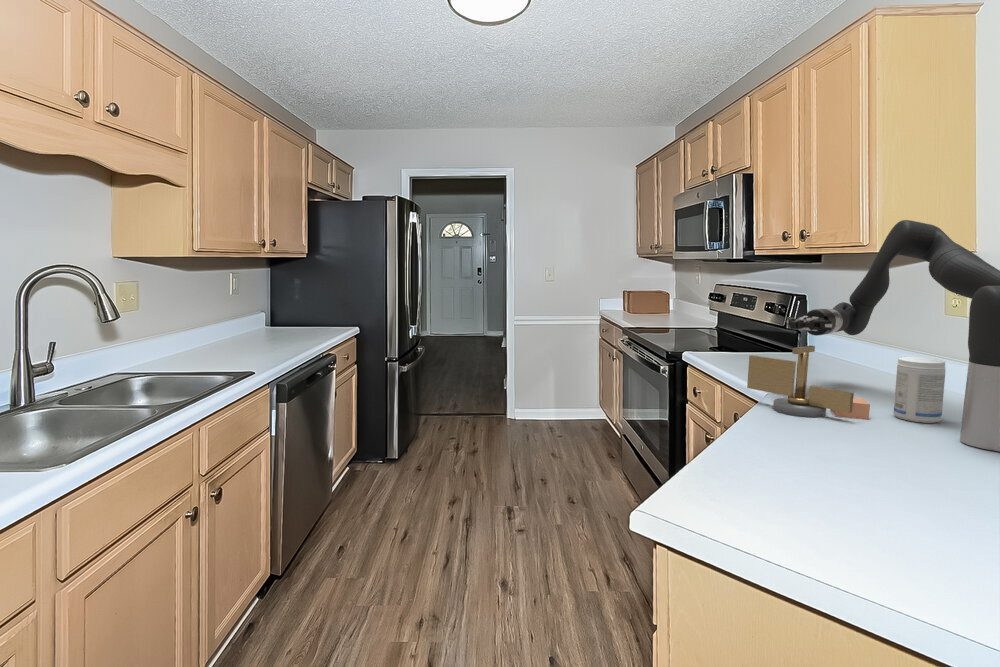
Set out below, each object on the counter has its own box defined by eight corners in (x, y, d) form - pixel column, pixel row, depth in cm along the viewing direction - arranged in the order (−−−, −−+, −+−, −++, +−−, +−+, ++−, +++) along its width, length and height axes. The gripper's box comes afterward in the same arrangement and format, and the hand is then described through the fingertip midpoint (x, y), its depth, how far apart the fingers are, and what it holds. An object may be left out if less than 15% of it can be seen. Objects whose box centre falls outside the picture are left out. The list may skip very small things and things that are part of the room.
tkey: (858, 409, 140) (864, 351, 138) (842, 415, 135) (847, 354, 133) (756, 390, 161) (760, 339, 159) (738, 394, 155) (742, 341, 154)
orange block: (861, 413, 147) (862, 398, 146) (868, 420, 140) (870, 404, 140) (830, 410, 149) (831, 395, 149) (835, 417, 143) (837, 401, 142)
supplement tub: (944, 419, 141) (950, 360, 140) (936, 426, 135) (943, 364, 133) (897, 411, 148) (903, 355, 147) (887, 418, 142) (893, 359, 140)
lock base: (834, 412, 146) (835, 405, 146) (811, 419, 139) (812, 411, 139) (787, 403, 156) (788, 396, 155) (763, 409, 149) (764, 401, 148)
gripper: (801, 307, 172) (770, 309, 162) (848, 310, 162) (819, 313, 152) (798, 331, 173) (768, 336, 163) (846, 337, 163) (816, 341, 153)
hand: (793, 325), depth 157 cm, fingers closed
